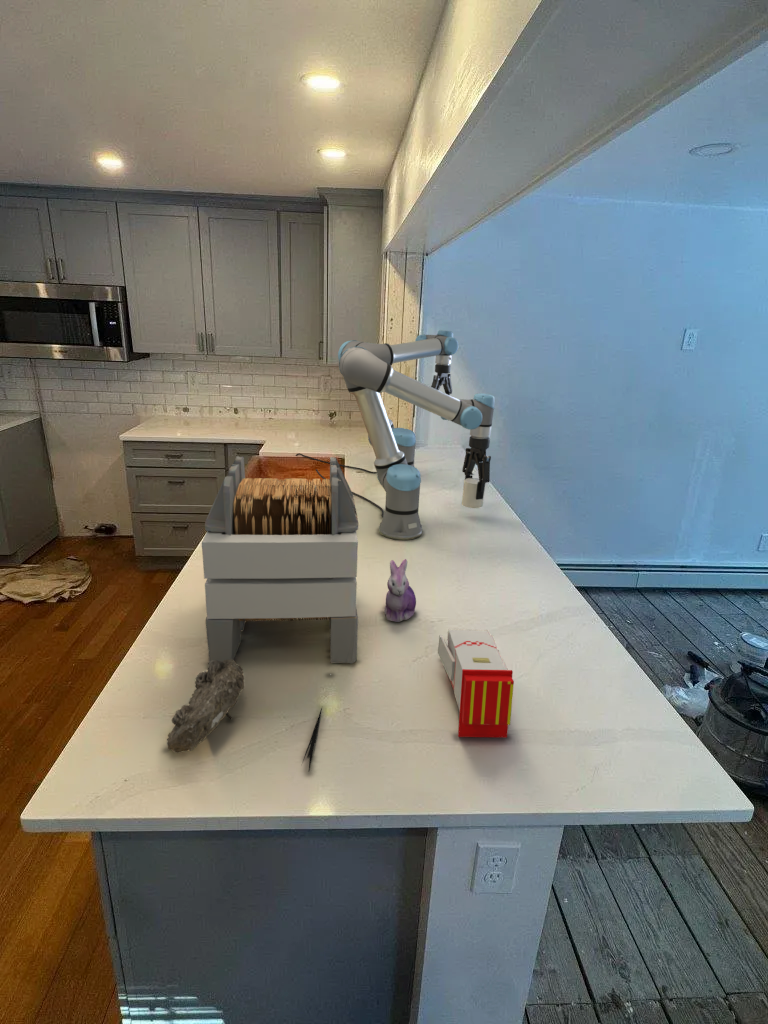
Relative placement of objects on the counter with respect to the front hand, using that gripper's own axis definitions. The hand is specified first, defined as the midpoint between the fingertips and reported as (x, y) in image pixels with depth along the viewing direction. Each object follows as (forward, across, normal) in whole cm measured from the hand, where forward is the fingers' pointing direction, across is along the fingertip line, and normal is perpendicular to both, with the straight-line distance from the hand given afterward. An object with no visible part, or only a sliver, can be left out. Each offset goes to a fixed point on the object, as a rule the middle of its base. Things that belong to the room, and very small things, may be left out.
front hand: (473, 495), depth 216 cm
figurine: (+10, -58, +57) cm, 82 cm away
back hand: (-20, +71, -22) cm, 77 cm away
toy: (+9, -92, +56) cm, 108 cm away
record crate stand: (+10, -54, +86) cm, 102 cm away
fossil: (+10, -82, +107) cm, 135 cm away
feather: (+10, -89, +88) cm, 126 cm away
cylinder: (+4, 0, 0) cm, 4 cm away
